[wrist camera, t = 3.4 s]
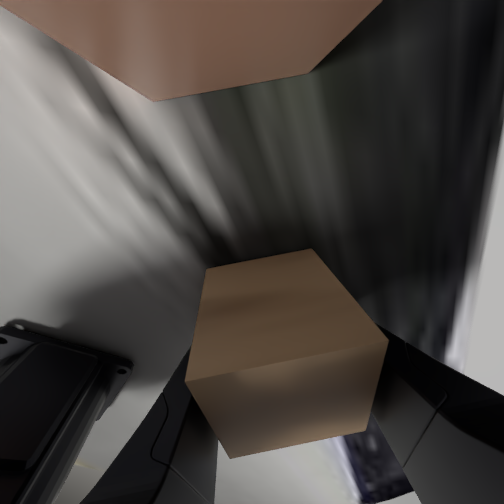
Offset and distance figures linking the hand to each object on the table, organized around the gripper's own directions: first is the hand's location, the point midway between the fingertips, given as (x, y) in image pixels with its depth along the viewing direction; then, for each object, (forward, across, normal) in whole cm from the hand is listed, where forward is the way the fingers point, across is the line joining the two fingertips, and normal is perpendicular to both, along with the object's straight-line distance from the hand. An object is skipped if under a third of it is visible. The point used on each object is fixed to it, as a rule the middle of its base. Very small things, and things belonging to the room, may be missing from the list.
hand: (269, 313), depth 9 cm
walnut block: (+1, 0, 0) cm, 1 cm away
